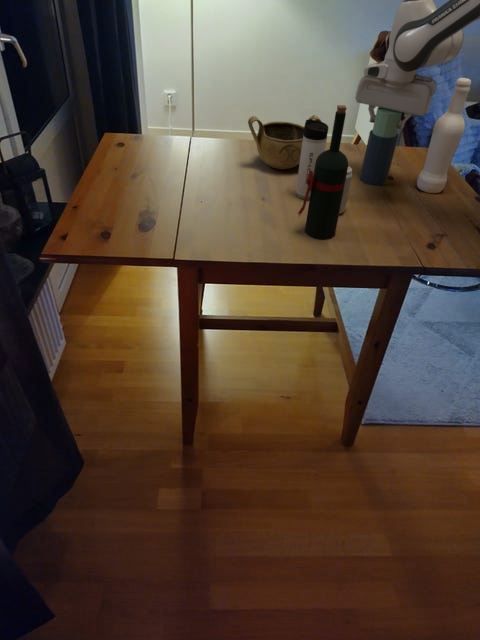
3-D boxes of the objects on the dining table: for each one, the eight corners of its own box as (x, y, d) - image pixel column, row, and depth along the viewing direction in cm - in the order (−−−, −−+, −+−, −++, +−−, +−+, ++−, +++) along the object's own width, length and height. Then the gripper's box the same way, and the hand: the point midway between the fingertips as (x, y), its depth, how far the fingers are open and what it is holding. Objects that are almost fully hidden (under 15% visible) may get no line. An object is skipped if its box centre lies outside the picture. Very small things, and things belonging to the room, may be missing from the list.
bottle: (449, 190, 138) (488, 81, 118) (430, 196, 134) (468, 84, 114) (427, 180, 143) (462, 73, 123) (409, 185, 139) (442, 76, 120)
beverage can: (321, 203, 128) (328, 161, 120) (344, 206, 127) (353, 164, 119) (320, 214, 123) (327, 171, 115) (344, 217, 123) (353, 174, 115)
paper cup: (398, 132, 133) (405, 109, 129) (391, 139, 129) (397, 115, 124) (377, 127, 135) (382, 104, 131) (369, 134, 131) (374, 110, 127)
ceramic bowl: (253, 178, 138) (256, 127, 129) (240, 156, 151) (242, 108, 141) (322, 174, 143) (331, 124, 133) (304, 153, 155) (311, 106, 145)
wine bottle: (293, 223, 119) (309, 100, 99) (331, 223, 120) (355, 101, 100) (298, 239, 113) (316, 111, 93) (338, 239, 114) (365, 112, 94)
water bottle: (389, 178, 142) (405, 118, 130) (380, 187, 137) (397, 125, 125) (365, 172, 145) (378, 112, 134) (355, 180, 140) (369, 119, 128)
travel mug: (306, 188, 135) (316, 117, 122) (322, 196, 131) (334, 124, 118) (290, 193, 132) (299, 121, 119) (305, 202, 128) (316, 128, 115)
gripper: (442, 76, 120) (425, 130, 129) (367, 62, 127) (356, 114, 136) (435, 81, 115) (419, 136, 125) (359, 67, 123) (348, 120, 132)
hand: (386, 125), depth 131 cm, fingers closed on paper cup, 7 cm apart
